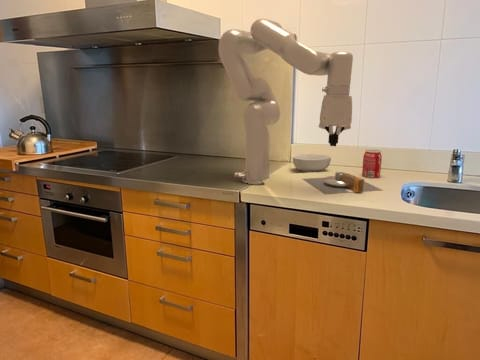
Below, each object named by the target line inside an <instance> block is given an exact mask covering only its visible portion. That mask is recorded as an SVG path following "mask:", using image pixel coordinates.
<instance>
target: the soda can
mask: <svg viewBox="0 0 480 360" xmlns="http://www.w3.org/2000/svg"><path fill="white" fill-rule="evenodd" d="M381 152H382V151H381V150H378V149H366V150H365V152H364V154H363V159H362V170H361V176H362V177H363V178H367V179H380V177H381V169H382V163H383V162H382V159H383V155H382V153H381Z"/></svg>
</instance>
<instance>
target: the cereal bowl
mask: <svg viewBox="0 0 480 360" xmlns="http://www.w3.org/2000/svg"><path fill="white" fill-rule="evenodd" d="M331 160H332V156H331V155H328V154H324V153H314V152H313V153H306V152H305V153H297V154H294V155H293V156H292V164H293V166H294V167H295V168H296V169H298V170H299V171H301V172H303V173H305V174H307V173H308V174H309V173H321V171H324V170H326V169H328V167H330V165H331Z"/></svg>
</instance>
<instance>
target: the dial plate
mask: <svg viewBox="0 0 480 360" xmlns="http://www.w3.org/2000/svg"><path fill="white" fill-rule="evenodd" d="M324 178H325V177H313V178H312V177H310V178H302V180H303V181H304V182H306V183H307V184H309V185H311V186H312V187H314V188H315V189H316V190H318V191H320V192H321V193H323V194H324V195H333V194H334V195H335V194H349V193H350V194H351V193H364V192H365V193H367V192H368V193H369V192H376V191H377V192H380V191H381V192H382V191H384V190H383V189H381V188H380V187H377V186H375V185H373V184H371V183H368V182H367V181H366V180H364V191H359V192H357V191H354V190H353V189H351V188H348V187H337V186H331V185H327V184H325V183H324Z"/></svg>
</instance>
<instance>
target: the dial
mask: <svg viewBox="0 0 480 360" xmlns="http://www.w3.org/2000/svg"><path fill="white" fill-rule="evenodd" d="M334 174H335V175H329V176H325V177H323V178H324V183H325V184H327V185H331V186H337V187H348V188H351V189H353V190H354V191H357V192H356V193H360V192H359V191H364V181H365V178H364V179H363V178H362V177H358V176H356V175H354V174H350V173H348V172H347V173H346V172H345V171H344V172H342V171H341V172H339V171H336V172H335V173H334Z"/></svg>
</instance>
